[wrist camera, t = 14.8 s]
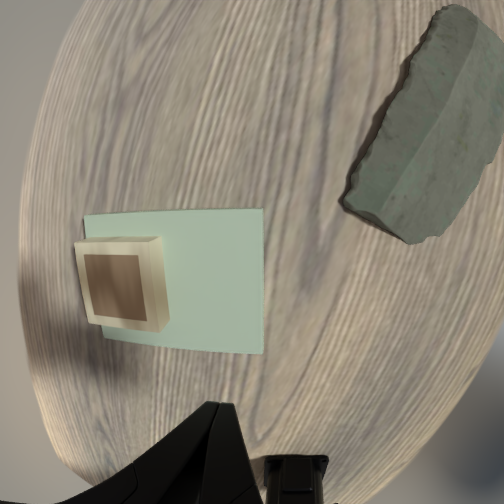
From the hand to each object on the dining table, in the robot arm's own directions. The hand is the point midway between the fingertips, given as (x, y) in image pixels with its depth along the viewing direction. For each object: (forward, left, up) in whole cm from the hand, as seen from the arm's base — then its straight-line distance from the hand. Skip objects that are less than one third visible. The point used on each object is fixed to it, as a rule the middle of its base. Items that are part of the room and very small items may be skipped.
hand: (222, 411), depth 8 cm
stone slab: (+13, -15, -13) cm, 23 cm away
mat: (0, +6, -12) cm, 13 cm away
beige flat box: (0, +6, -10) cm, 12 cm away
